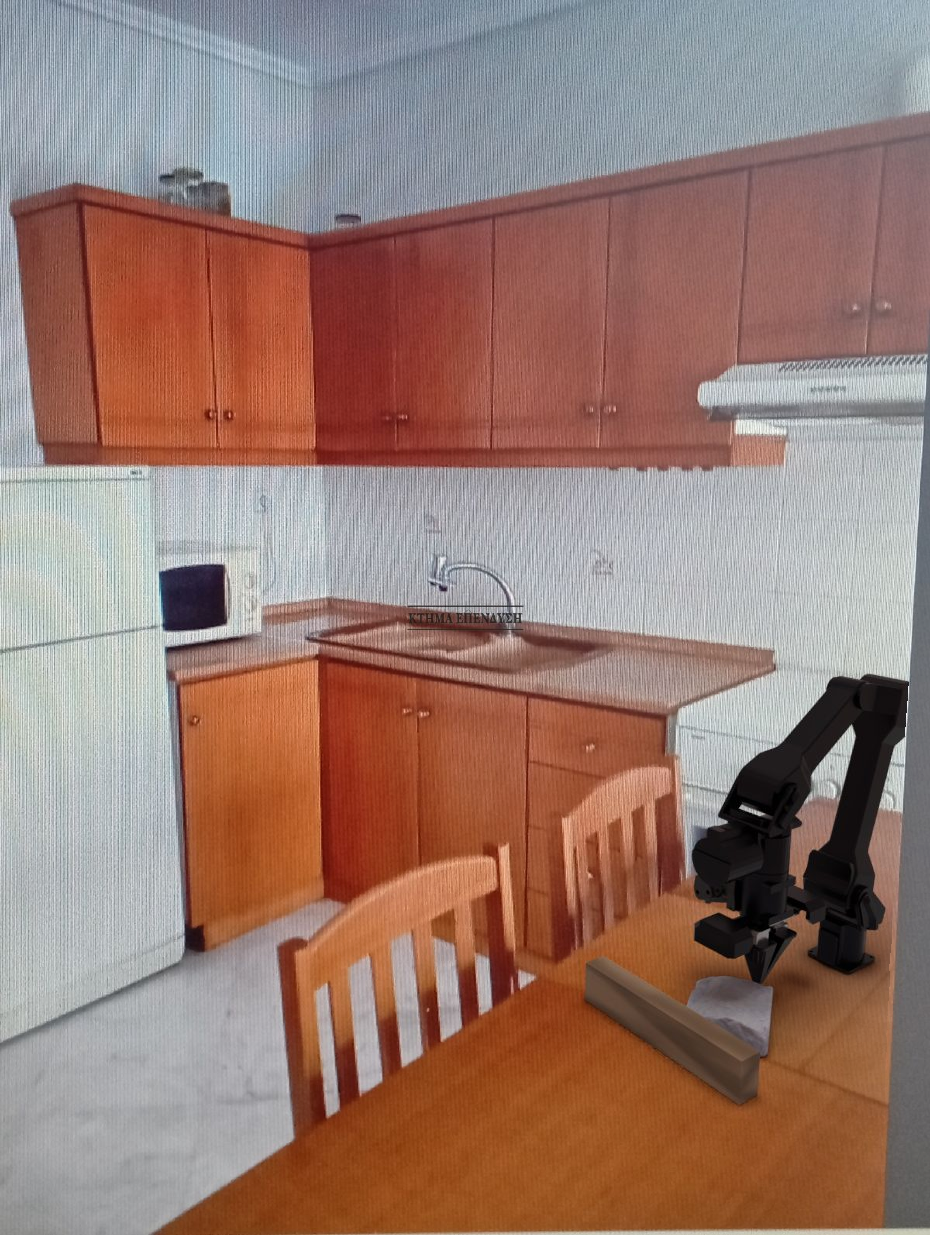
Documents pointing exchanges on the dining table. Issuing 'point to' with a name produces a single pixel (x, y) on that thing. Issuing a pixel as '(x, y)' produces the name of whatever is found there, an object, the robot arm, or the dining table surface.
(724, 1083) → the board
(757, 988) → the stone block
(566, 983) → the dining table surface
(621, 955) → the dining table surface
